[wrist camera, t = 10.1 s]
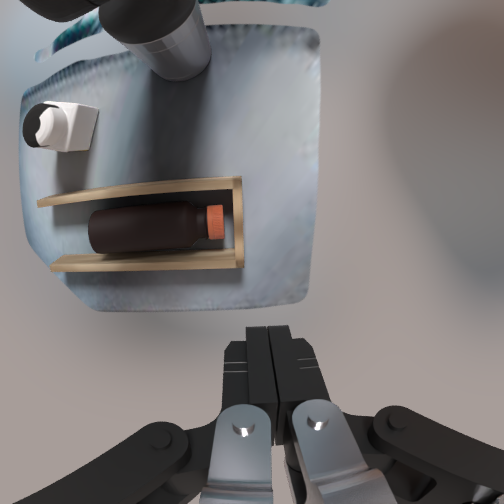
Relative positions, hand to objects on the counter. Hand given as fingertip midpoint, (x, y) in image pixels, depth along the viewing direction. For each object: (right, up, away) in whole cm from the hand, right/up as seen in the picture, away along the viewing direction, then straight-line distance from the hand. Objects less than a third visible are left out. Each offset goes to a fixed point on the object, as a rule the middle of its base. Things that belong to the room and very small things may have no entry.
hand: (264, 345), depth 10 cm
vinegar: (-25, +6, +29) cm, 39 cm away
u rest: (-18, +8, +33) cm, 39 cm away
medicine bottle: (-29, +24, +27) cm, 46 cm away
